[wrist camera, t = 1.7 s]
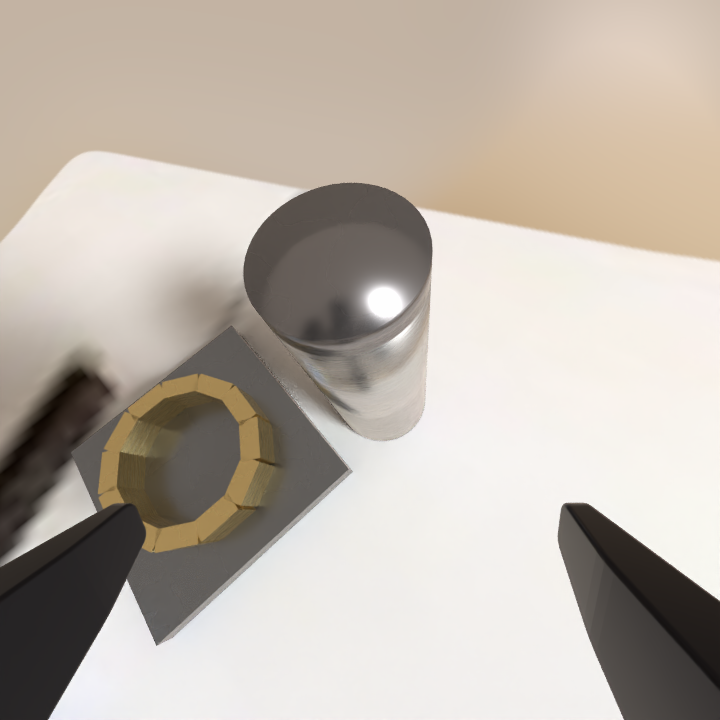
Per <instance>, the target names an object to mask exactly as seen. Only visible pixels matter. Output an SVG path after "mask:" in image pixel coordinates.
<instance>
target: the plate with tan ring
mask: <svg viewBox="0 0 720 720" xmlns="http://www.w3.org/2000/svg"><path fill="white" fill-rule="evenodd" d="M71 454H72V456H73V458H74V460H75V463H76V465H77V467H78V469H79V472H80V474H81V476H82V478H83V481H84V483H85V485H86V487H87V490H88V492H89V494H90V497H91V499H92V501H93V503H94V506H95V508H96V510H97V512H99V511H101V510H103V509H104V508H106V507H108V506H110V505H112V504H115V503H132V504H134V505H135V506H136V508H137V510H138V512H139V514H140V517H141V519H142V521H143V524H144V526H145V528H146V539H145V542H144V544H143V546H142V548H141V550H140V552H139V554H138V557H137V559H136V561H135V563H134V565H133V567H132V569H131V571H130V573H129V575H128V577H127V580H128V582H129V585H130V587H131V589H132V591H133V594H134V596H135V598H136V600H137V603H138V605H139V607H140V609H141V612H142V614H143V616H144V618H145V621H146V623H147V625H148V627H149V630H150V632H151V634H152V636H153V639H154V641H155V643H156V646H157V645H159V644H161V643H163V642H165V641H167V640H169V639H171V638H173V637H174V636H175V635H176V634H177V633H178V632H179V631H180V630H181V629H182V628H184V627H185V626H186V625H187V624H188V623H189V622H190V621H191V620H192V619H193V618H194V617H195V616H197V615H198V614H199V613H200V612H201V611H202V610H203V609H204V608H205V607H206V606H207V605H208V604H210V603H211V602H212V601H213V600H214V599H215V598H216V597H217V596H218V595H219V594H220V593H221V592H223V591H224V590H225V589H226V588H227V587H228V586H229V585H230V584H231V583H232V582H233V581H235V580H236V579H237V578H238V577H239V576H240V575H241V574H242V573H243V572H244V571H245V570H246V569H248V568H249V567H250V566H251V565H252V564H253V563H254V562H255V561H256V560H257V559H258V558H259V557H261V556H262V555H263V554H264V553H265V552H266V551H267V550H268V549H269V548H270V547H271V546H272V545H274V544H275V543H276V542H277V541H278V540H279V539H280V538H281V537H282V536H283V535H284V534H286V533H287V532H288V531H289V530H290V529H291V528H292V527H293V526H294V525H295V524H296V523H297V522H299V521H300V520H301V519H302V518H303V517H304V516H305V515H306V514H307V513H308V512H309V511H310V510H312V509H313V508H314V507H315V506H316V505H317V504H318V503H319V502H320V501H321V500H322V499H323V498H325V497H326V496H327V495H328V494H329V493H330V492H331V491H332V490H333V489H334V488H335V487H337V486H338V485H339V484H340V483H341V482H342V481H343V480H344V479H345V478H346V477H347V476H348V475H350V474H351V473H352V472H353V471H352V470H351V469H350V468H349V467H348V465H347V464H346V463H345V462H344V460H343V459H342V458H341V457H340V456H339V454H338V453H337V452H336V451H335V449H334V448H333V447H332V446H331V445H330V443H329V442H328V441H327V440H326V438H325V437H324V436H323V435H322V434H321V432H320V431H319V430H318V429H317V428H316V426H315V425H314V424H313V423H312V421H311V420H310V419H309V418H308V417H307V415H306V414H305V413H304V412H303V410H302V409H301V408H300V407H299V406H298V404H297V403H296V402H295V401H294V399H293V398H292V397H291V396H290V395H289V393H288V392H287V391H286V390H285V388H284V387H283V386H282V385H281V384H280V382H279V381H278V380H277V379H276V377H275V376H274V375H273V374H272V373H271V371H270V370H269V369H268V368H267V367H266V365H265V364H264V363H263V362H262V360H261V359H260V358H259V357H258V356H257V354H256V353H255V352H254V351H253V349H252V348H251V347H250V346H249V345H248V343H247V342H246V341H245V340H244V338H243V337H242V336H241V335H240V334H239V333H238V332H237V331H236V330H235V329H234V328H233V327H232V326H231V327H229V328H228V329H227V330H226V331H224V332H223V333H222V334H221V335H219V336H218V337H217V338H215V339H214V340H213V341H212V342H210V343H209V344H208V345H207V346H205V347H204V348H203V349H201V350H200V351H199V352H198V353H196V354H195V355H194V356H193V357H191V358H190V359H189V360H188V361H186V362H185V363H184V364H182V365H181V366H180V367H179V368H177V369H176V370H175V371H174V372H172V373H171V374H170V375H168V376H167V377H166V378H165V379H163V380H162V381H161V382H160V383H158V384H157V385H156V386H155V387H153V388H152V389H151V390H149V391H148V392H147V393H146V394H144V395H143V396H142V397H141V398H139V399H138V400H137V401H135V402H134V403H133V404H132V405H130V406H129V407H128V408H127V409H125V410H124V411H123V412H122V413H120V414H119V415H118V416H116V417H115V418H114V419H113V420H111V421H110V422H109V423H108V424H106V425H105V426H104V427H103V428H101V429H100V430H99V431H97V432H96V433H95V434H94V435H92V436H91V437H90V438H89V439H87V440H86V441H85V442H83V443H82V444H81V445H80V446H78V447H77V448H76V449H75V450H73V451H72V452H71Z"/></svg>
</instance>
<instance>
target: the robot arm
mask: <svg viewBox="0 0 720 720" xmlns="http://www.w3.org/2000/svg"><path fill="white" fill-rule="evenodd" d="M145 539H146V528H145V526H144V524H143V521H142V519H141V517H140V514H139V512H138V510H137V508H136V506H135V505H134V504H132V503H115V504H112V505H110V506H108V507H106V508H104V509H103V510H101V511H99V512H97V513H96V514H94V515H92V516H90V517H88V518H87V519H85V520H83V521H81V522H80V523H78V524H76V525H74V526H73V527H71V528H69V529H67V530H65V531H64V532H62V533H60V534H58V535H57V536H55V537H53V538H51V539H50V540H48V541H46V542H44V543H42V544H41V545H39V546H37V547H35V548H34V549H32V550H30V551H28V552H27V553H25V554H23V555H21V556H19V557H18V558H16V559H14V560H12V561H11V562H9V563H7V564H5V565H4V566H2V567H0V720H48V719H49V717H50V716H51V714H52V712H53V710H54V709H55V707H56V705H57V704H58V702H59V700H60V698H61V697H62V695H63V693H64V692H65V690H66V688H67V686H68V685H69V683H70V681H71V680H72V678H73V676H74V674H75V673H76V671H77V669H78V668H79V666H80V664H81V662H82V661H83V659H84V657H85V656H86V654H87V652H88V650H89V649H90V647H91V645H92V644H93V642H94V640H95V638H96V637H97V635H98V633H99V632H100V630H101V628H102V626H103V625H104V623H105V621H106V619H107V617H108V616H109V614H110V612H111V610H112V608H113V606H114V604H115V602H116V600H117V598H118V596H119V594H120V592H121V590H122V587H123V585H124V583H125V581H126V579H127V577H128V575H129V573H130V571H131V569H132V567H133V565H134V563H135V561H136V559H137V557H138V554H139V552H140V550H141V548H142V546H143V544H144V542H145ZM558 543H559V548H560V551H561V554H562V557H563V560H564V563H565V566H566V570H567V573H568V576H569V579H570V582H571V585H572V588H573V591H574V594H575V597H576V600H577V603H578V607H579V610H580V613H581V616H582V619H583V622H584V625H585V628H586V631H587V633H588V636H589V639H590V642H591V644H592V646H593V649H594V651H595V654H596V656H597V658H598V661H599V663H600V665H601V668H602V670H603V672H604V675H605V677H606V679H607V682H608V684H609V686H610V689H611V691H612V693H613V695H614V698H615V700H616V702H617V705H618V707H619V709H620V712H621V714H622V716H623V719H624V720H720V601H719V600H718V599H716V598H715V597H714V596H712V595H711V594H710V593H708V592H707V591H706V590H704V589H703V588H702V587H700V586H699V585H697V584H696V583H695V582H693V581H692V580H691V579H689V578H688V577H687V576H685V575H684V574H683V573H681V572H680V571H679V570H677V569H676V568H675V567H673V566H672V565H670V564H669V563H668V562H666V561H665V560H664V559H662V558H661V557H660V556H658V555H657V554H656V553H654V552H653V551H652V550H650V549H649V548H647V547H646V546H645V545H643V544H642V543H641V542H639V541H638V540H637V539H635V538H634V537H633V536H631V535H630V534H629V533H627V532H626V531H625V530H623V529H622V528H620V527H619V526H618V525H616V524H615V523H614V522H612V521H611V520H610V519H608V518H607V517H606V516H604V515H603V514H602V513H600V512H599V511H597V510H596V509H595V508H593V507H592V506H591V505H589V504H587V503H565V504H563V506H562V508H561V514H560V521H559V529H558Z"/></svg>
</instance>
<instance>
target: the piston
mask: <svg viewBox="0 0 720 720" xmlns="http://www.w3.org/2000/svg"><path fill="white" fill-rule="evenodd" d="M431 270H432V239H431V235H430V231H429V228H428V226H427V224H426V222H425V220H424V218H423V217H422V215H421V214H420V212H419V211H418V210H417V209H416V208H415V207H414V206H413V205H412V204H411V203H410V202H409V201H408V200H406V199H405V198H403V197H402V196H400V195H398V194H397V193H395V192H393V191H390V190H388V189H386V188H382V187H379V186H375V185H370V184H362V183H340V184H332V185H328V186H323V187H320V188H316V189H313V190H310V191H308V192H305V193H303V194H301V195H299V196H297V197H295V198H293V199H291V200H290V201H288V202H287V203H285V204H284V205H282V206H281V207H280V208H278V209H277V210H276V211H275V212H273V213H272V214H271V215H270V216H269V217H268V218H267V219H266V220H265V221H264V223H263V224H262V225H261V226H260V228H259V229H258V230H257V232H256V234H255V235H254V237H253V239H252V241H251V243H250V245H249V247H248V250H247V253H246V257H245V262H244V284H245V289H246V292H247V295H248V297H249V299H250V301H251V303H252V305H253V307H254V308H255V309H256V311H257V312H258V313H259V315H260V316H261V317H262V318H263V320H264V321H265V322H266V323H267V325H268V326H269V327H270V328H271V329H272V331H273V332H274V333H275V334H276V336H277V337H278V338H279V339H280V341H281V342H282V343H283V344H284V346H285V347H286V348H287V349H288V351H289V352H290V353H291V354H292V355H293V357H294V358H295V359H296V360H297V362H298V363H299V364H300V365H301V367H302V368H303V369H304V370H305V372H306V373H307V374H308V375H309V377H310V378H311V379H312V380H313V381H314V383H315V384H316V385H317V386H318V388H319V389H320V390H321V391H322V393H323V394H324V395H325V396H326V398H327V399H328V400H329V401H330V402H331V404H332V405H333V406H334V407H335V409H336V410H337V411H338V412H339V414H340V415H341V416H342V417H343V419H344V420H345V421H346V422H347V424H348V425H349V426H350V427H351V428H352V429H353V430H354V431H355V432H356V433H358V434H359V435H361V436H363V437H365V438H368V439H371V440H376V441H388V440H393V439H397V438H399V437H401V436H403V435H405V434H406V433H408V432H409V431H410V430H412V429H413V428H414V427H415V425H416V424H417V423H418V421H419V420H420V418H421V416H422V413H423V411H424V406H425V393H426V373H427V352H428V332H429V311H430V291H431Z"/></svg>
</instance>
